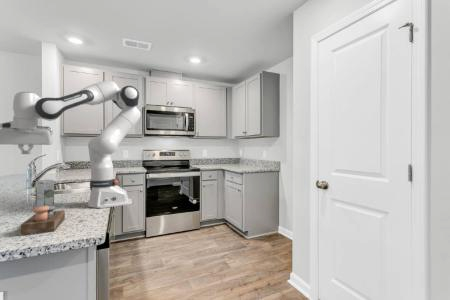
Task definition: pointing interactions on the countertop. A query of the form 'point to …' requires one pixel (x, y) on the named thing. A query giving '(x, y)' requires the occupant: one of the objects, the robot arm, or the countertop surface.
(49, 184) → the syrup box
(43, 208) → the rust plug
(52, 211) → the grey plug
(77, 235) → the countertop surface
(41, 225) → the wooden frame holder
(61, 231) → the countertop surface
